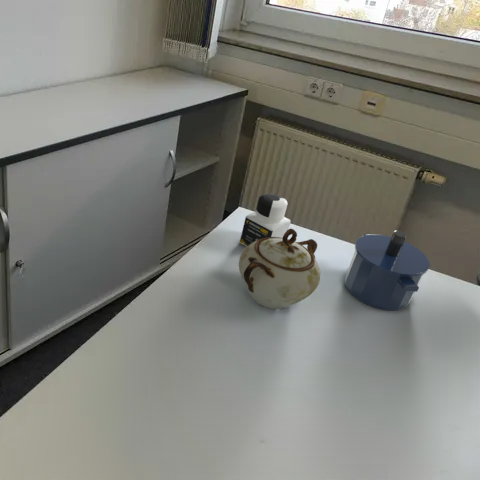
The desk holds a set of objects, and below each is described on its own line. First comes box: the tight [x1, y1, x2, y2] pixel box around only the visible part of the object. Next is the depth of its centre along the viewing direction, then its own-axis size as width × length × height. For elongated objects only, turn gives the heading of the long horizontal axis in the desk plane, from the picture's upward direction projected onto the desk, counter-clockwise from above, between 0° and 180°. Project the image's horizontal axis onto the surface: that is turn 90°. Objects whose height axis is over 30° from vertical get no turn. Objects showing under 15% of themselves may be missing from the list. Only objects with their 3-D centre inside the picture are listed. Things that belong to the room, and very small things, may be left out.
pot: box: [344, 233, 424, 311], centre depth 108 cm, size 13×18×8 cm
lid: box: [354, 230, 431, 277], centre depth 104 cm, size 14×14×6 cm
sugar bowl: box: [238, 228, 321, 310], centre depth 101 cm, size 20×15×15 cm
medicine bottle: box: [239, 193, 292, 247], centre depth 117 cm, size 7×7×12 cm
